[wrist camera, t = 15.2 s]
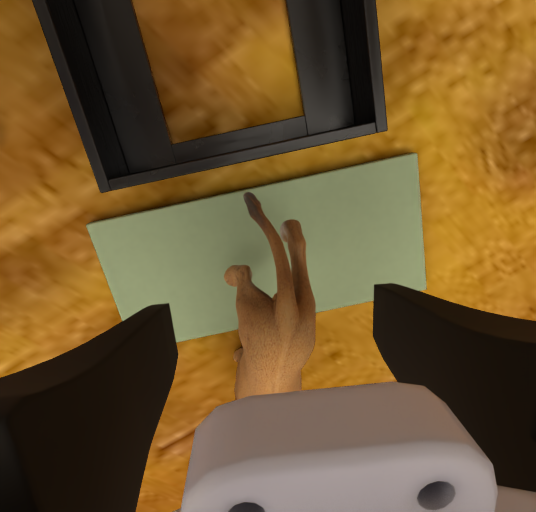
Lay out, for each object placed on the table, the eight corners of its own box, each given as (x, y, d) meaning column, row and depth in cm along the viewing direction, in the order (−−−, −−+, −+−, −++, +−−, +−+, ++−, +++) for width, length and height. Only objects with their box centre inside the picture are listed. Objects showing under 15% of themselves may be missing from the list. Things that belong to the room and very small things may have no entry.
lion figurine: (317, 382, 24) (360, 540, 16) (241, 396, 24) (248, 561, 16) (298, 178, 16) (363, 293, 8) (186, 197, 16) (149, 329, 8)
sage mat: (136, 346, 21) (133, 351, 21) (90, 222, 19) (85, 224, 18) (422, 285, 21) (427, 289, 20) (412, 152, 19) (417, 152, 18)
